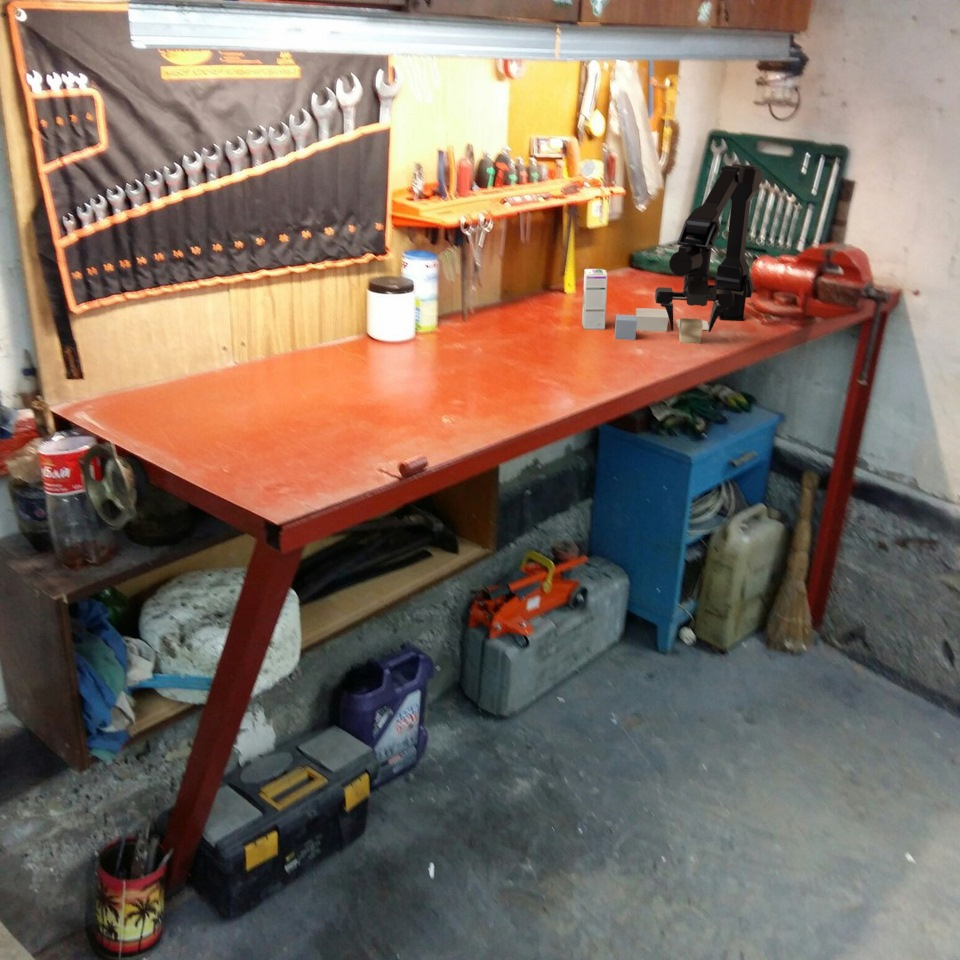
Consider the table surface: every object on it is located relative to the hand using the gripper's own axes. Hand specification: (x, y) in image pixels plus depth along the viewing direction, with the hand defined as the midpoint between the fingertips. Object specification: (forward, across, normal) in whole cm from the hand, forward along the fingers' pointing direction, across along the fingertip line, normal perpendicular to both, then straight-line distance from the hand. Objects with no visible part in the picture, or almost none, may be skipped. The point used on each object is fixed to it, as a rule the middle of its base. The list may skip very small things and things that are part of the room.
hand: (690, 330), depth 245 cm
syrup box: (+3, -24, +9) cm, 26 cm away
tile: (+2, +2, +13) cm, 13 cm away
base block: (+3, -9, +11) cm, 14 cm away
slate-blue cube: (+3, -16, +1) cm, 16 cm away
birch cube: (+3, 0, 0) cm, 3 cm away
